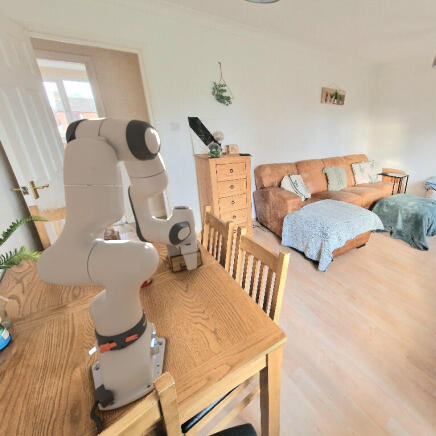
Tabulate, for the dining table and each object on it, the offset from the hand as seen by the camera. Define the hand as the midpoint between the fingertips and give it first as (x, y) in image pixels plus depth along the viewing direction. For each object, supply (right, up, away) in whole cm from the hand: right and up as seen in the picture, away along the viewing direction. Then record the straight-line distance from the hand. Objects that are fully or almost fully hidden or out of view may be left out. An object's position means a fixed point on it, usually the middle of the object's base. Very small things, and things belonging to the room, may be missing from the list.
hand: (189, 267), depth 109 cm
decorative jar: (-42, +1, +8) cm, 43 cm away
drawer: (-6, +1, +9) cm, 11 cm away
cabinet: (-8, +1, +13) cm, 15 cm away
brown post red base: (-18, -5, -5) cm, 19 cm away
